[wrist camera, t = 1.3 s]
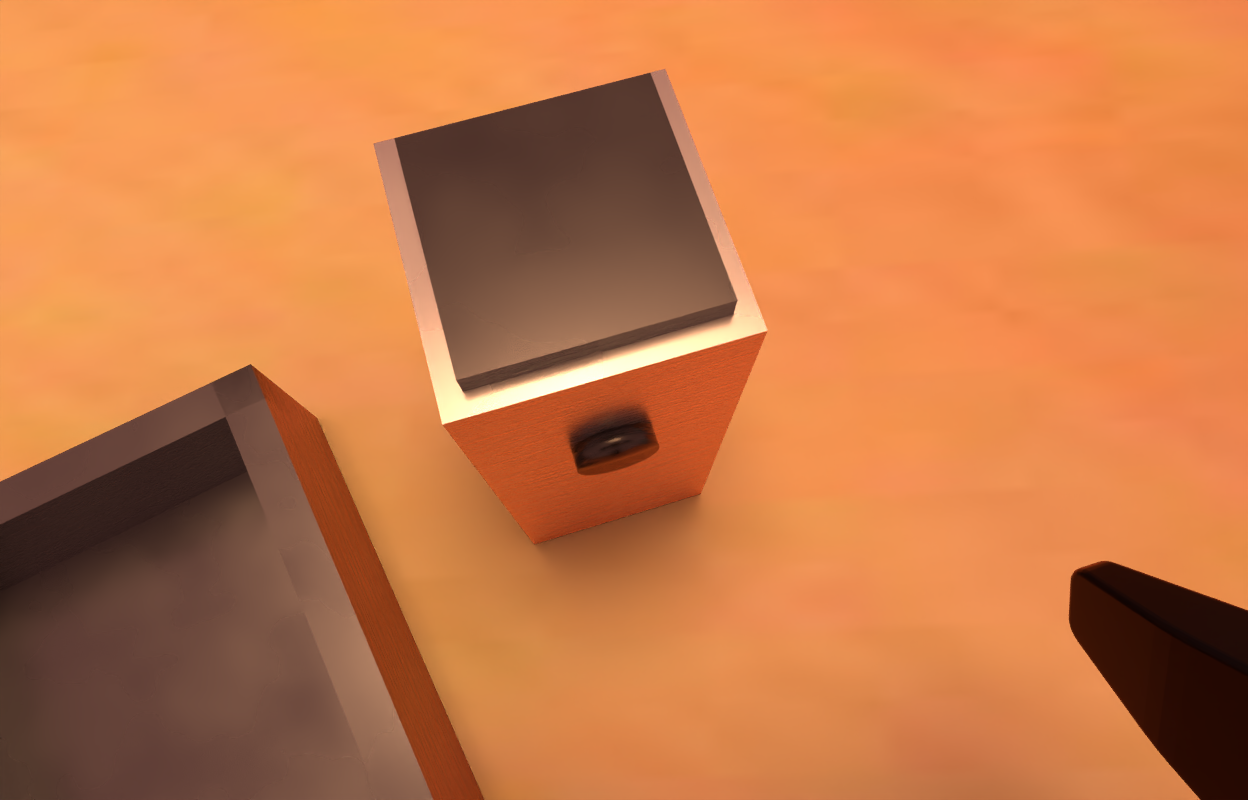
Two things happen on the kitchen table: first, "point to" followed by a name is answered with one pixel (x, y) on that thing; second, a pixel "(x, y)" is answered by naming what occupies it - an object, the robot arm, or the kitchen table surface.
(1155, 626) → the robot arm
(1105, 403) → the kitchen table surface
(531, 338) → the block
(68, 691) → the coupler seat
